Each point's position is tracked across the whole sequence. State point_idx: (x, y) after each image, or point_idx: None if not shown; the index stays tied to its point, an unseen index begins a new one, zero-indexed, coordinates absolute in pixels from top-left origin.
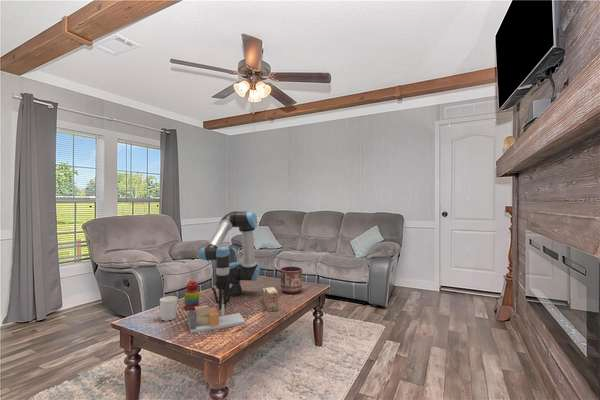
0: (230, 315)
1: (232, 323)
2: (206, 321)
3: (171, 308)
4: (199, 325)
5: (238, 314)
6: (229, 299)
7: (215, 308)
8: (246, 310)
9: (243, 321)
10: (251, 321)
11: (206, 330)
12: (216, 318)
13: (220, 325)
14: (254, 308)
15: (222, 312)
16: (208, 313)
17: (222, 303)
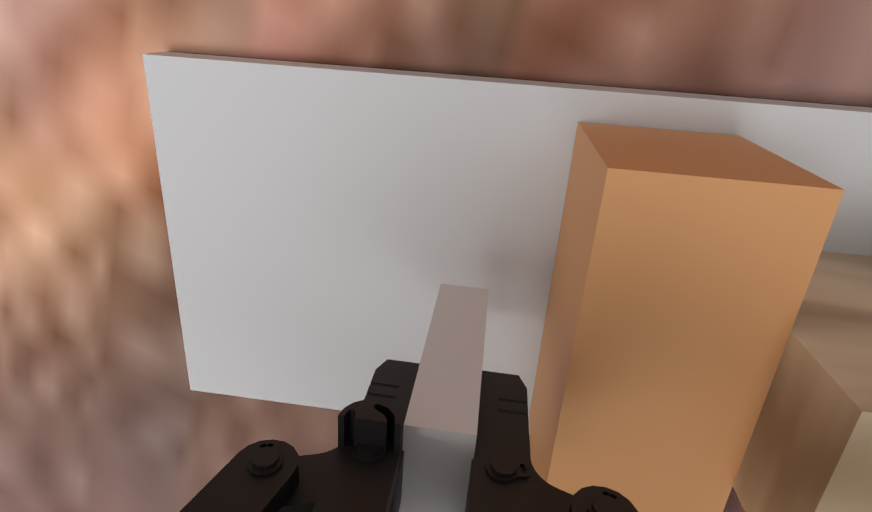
0: (319, 376)
1: (358, 70)
2: None
3: None
4: (870, 256)
5: (209, 354)
6: (209, 493)
7: None
8: (107, 460)
9: (173, 61)
10: (72, 99)
11: (792, 102)
12: (653, 151)
13: (564, 88)
14: (13, 464)
15: (470, 314)
16: (804, 332)
17: (438, 479)
